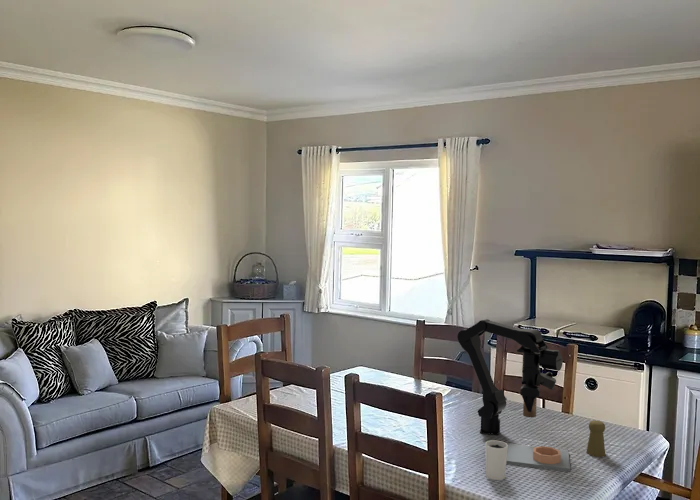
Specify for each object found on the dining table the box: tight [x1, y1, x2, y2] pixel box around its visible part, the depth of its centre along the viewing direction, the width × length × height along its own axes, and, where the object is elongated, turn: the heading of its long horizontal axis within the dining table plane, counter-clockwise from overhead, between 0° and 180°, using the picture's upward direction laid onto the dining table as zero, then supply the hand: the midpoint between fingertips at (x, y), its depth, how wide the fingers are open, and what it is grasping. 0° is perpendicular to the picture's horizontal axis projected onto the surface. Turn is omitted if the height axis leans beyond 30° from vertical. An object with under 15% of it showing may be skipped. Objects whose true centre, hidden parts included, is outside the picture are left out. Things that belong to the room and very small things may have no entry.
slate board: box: [506, 443, 571, 473], centre depth 209 cm, size 20×16×1 cm
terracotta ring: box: [533, 445, 561, 464], centre depth 206 cm, size 8×8×2 cm
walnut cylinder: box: [522, 397, 538, 418], centre depth 223 cm, size 4×4×8 cm
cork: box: [586, 419, 606, 458], centre depth 213 cm, size 6×6×11 cm
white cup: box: [484, 439, 508, 481], centre depth 194 cm, size 7×7×10 cm
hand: (529, 409), depth 223 cm, fingers closed on walnut cylinder, 4 cm apart
